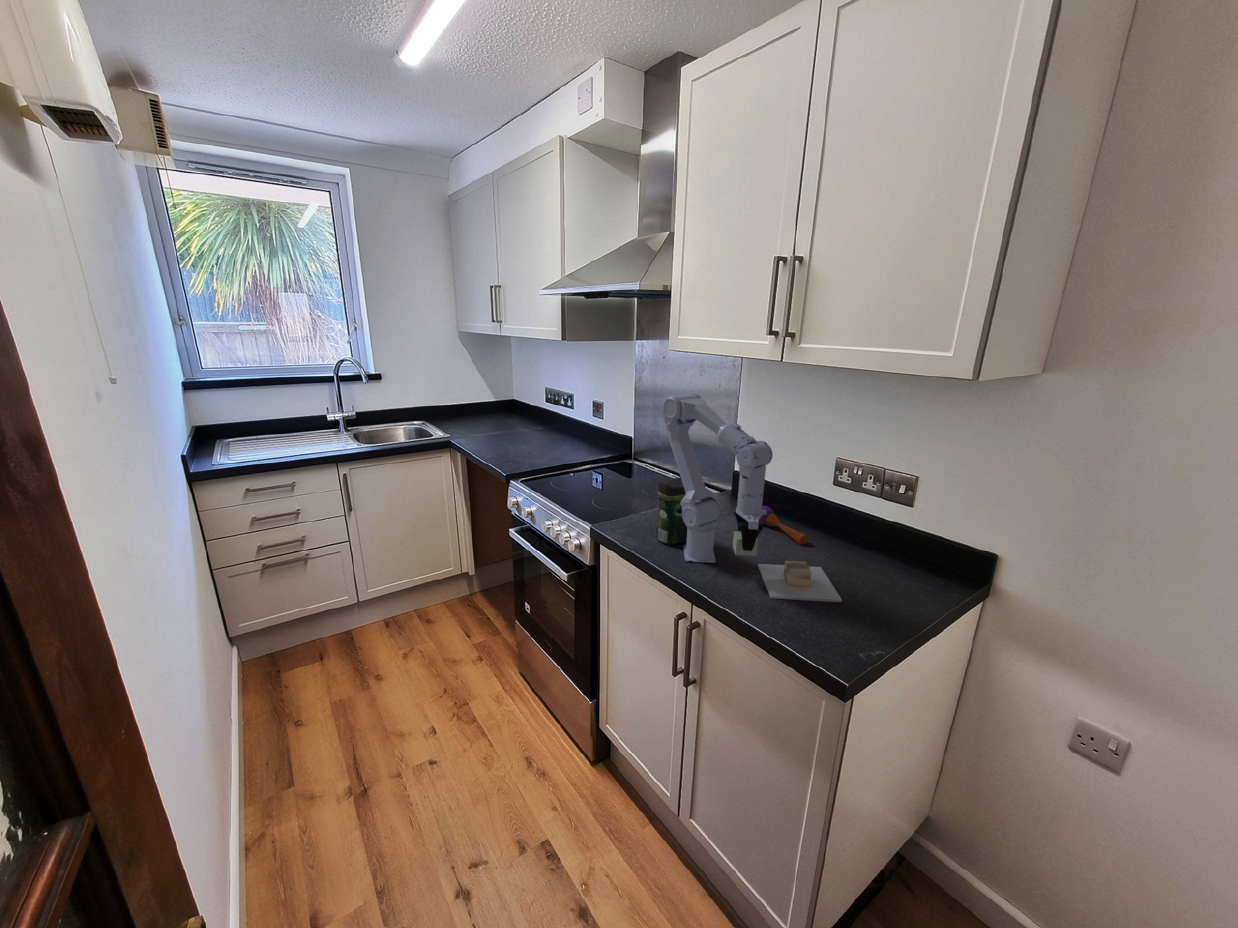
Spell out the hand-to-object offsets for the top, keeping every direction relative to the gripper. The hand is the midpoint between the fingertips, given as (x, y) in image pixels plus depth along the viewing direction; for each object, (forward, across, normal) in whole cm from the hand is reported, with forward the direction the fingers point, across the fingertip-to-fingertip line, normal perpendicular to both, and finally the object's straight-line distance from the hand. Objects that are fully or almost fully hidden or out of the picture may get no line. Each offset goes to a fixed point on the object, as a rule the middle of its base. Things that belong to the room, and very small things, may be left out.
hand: (745, 544), depth 124 cm
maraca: (+10, +30, -16) cm, 35 cm away
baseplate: (+9, -1, -13) cm, 16 cm away
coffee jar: (+9, +21, +17) cm, 28 cm away
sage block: (+2, 0, 0) cm, 2 cm away
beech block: (+8, -1, -13) cm, 15 cm away
